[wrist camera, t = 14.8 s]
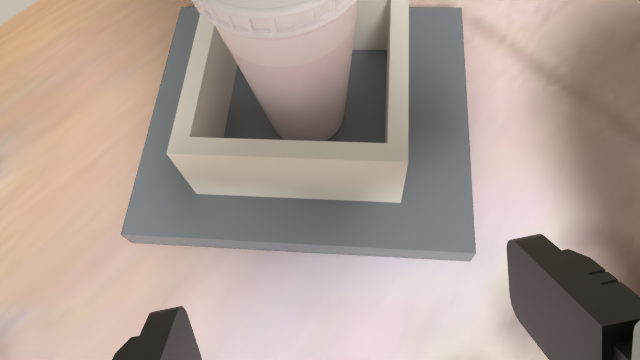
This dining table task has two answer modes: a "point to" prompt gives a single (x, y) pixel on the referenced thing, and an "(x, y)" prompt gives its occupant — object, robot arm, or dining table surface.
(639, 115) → the dining table surface
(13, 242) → the dining table surface
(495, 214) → the dining table surface
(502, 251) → the dining table surface
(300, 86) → the smoothie
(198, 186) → the socket board
